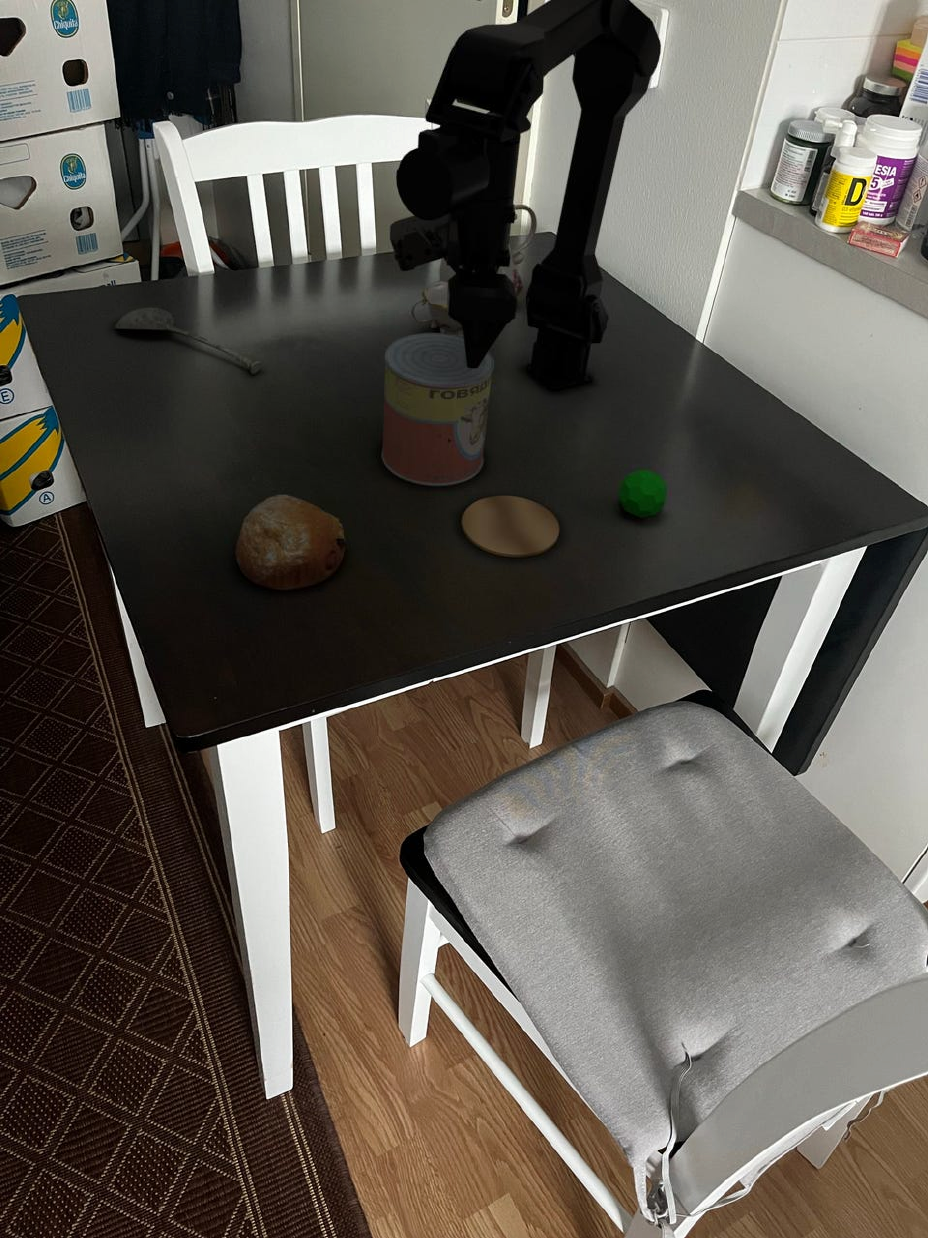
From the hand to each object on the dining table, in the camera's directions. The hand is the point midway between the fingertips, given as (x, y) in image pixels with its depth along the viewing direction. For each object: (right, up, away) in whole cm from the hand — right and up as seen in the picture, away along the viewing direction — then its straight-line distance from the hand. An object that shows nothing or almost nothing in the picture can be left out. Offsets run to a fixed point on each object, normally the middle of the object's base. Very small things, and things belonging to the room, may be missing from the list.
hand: (469, 345), depth 102 cm
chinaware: (+3, +15, +37) cm, 40 cm away
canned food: (-4, -10, +8) cm, 14 cm away
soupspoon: (-35, +6, +22) cm, 42 cm away
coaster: (+4, -19, -1) cm, 19 cm away
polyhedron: (+18, -17, +3) cm, 25 cm away
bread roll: (-17, -23, -7) cm, 29 cm away
